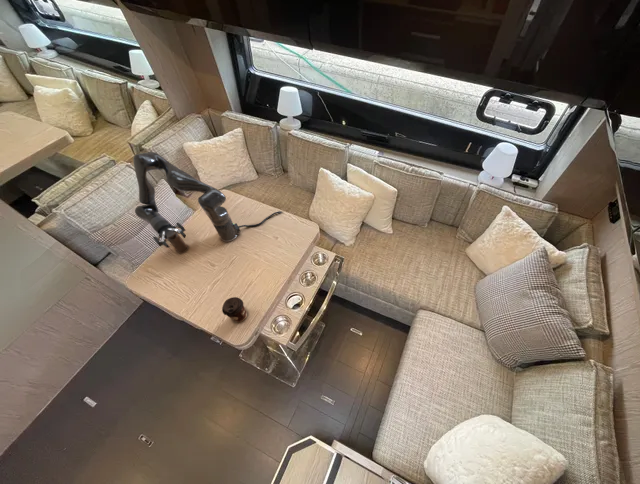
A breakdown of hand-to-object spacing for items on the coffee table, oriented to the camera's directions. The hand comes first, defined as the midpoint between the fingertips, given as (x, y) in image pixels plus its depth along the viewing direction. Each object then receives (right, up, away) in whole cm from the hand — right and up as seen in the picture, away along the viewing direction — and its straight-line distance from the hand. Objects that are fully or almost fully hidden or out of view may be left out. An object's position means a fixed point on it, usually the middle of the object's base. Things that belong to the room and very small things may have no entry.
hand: (176, 241), depth 144 cm
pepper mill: (-1, -5, +6) cm, 8 cm away
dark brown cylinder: (+40, -34, -16) cm, 54 cm away
